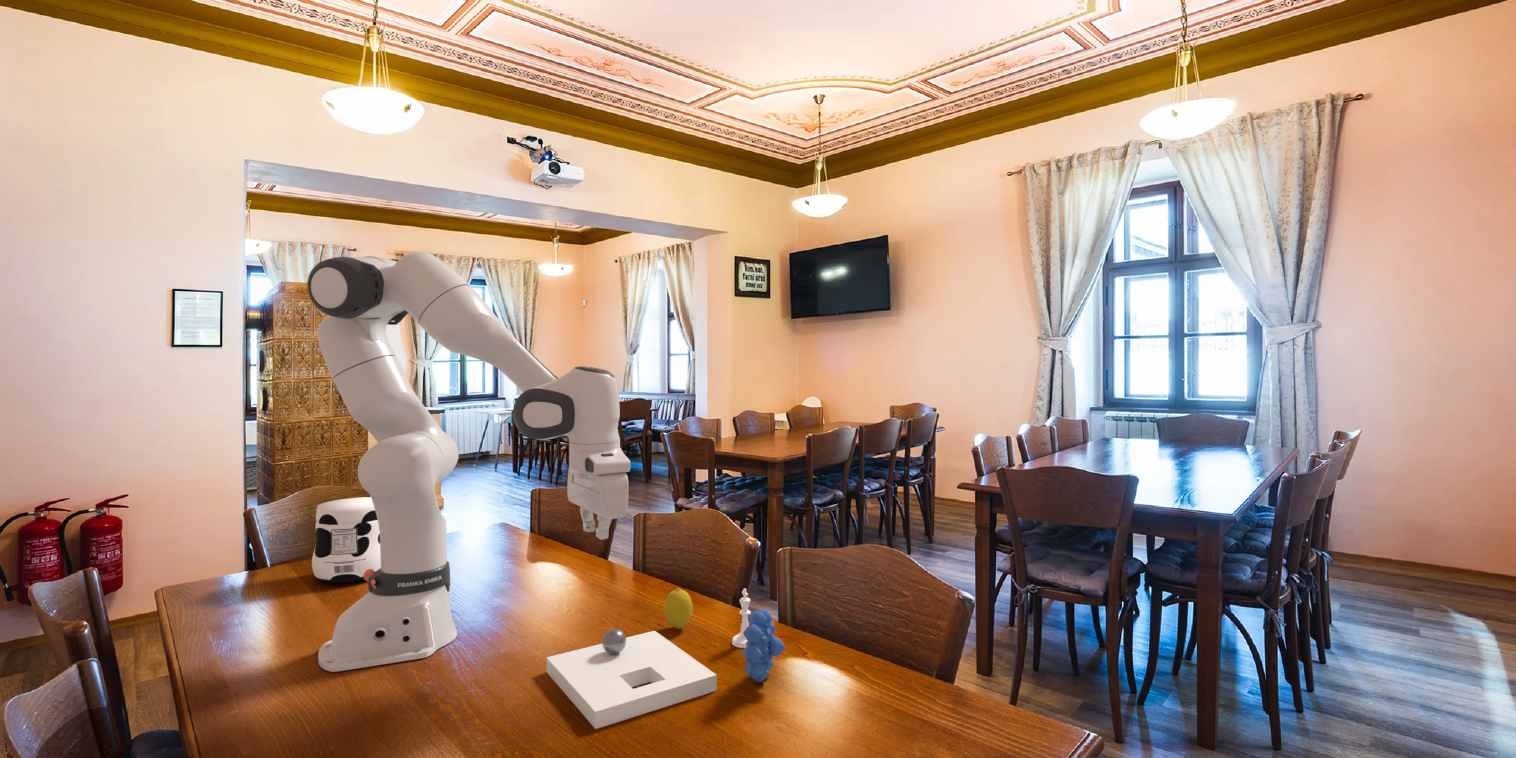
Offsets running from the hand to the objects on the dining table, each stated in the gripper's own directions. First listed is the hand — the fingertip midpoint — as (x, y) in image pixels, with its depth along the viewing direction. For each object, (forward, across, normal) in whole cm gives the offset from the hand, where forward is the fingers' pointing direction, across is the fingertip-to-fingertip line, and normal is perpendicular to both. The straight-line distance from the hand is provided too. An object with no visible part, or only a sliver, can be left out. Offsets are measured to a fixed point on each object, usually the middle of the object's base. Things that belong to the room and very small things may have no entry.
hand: (595, 534), depth 124 cm
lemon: (+21, -1, +17) cm, 27 cm away
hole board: (+21, +14, 0) cm, 25 cm away
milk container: (+22, -76, -32) cm, 85 cm away
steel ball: (+17, +8, 0) cm, 18 cm away
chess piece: (+21, +12, +24) cm, 34 cm away
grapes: (+21, +27, +18) cm, 39 cm away
